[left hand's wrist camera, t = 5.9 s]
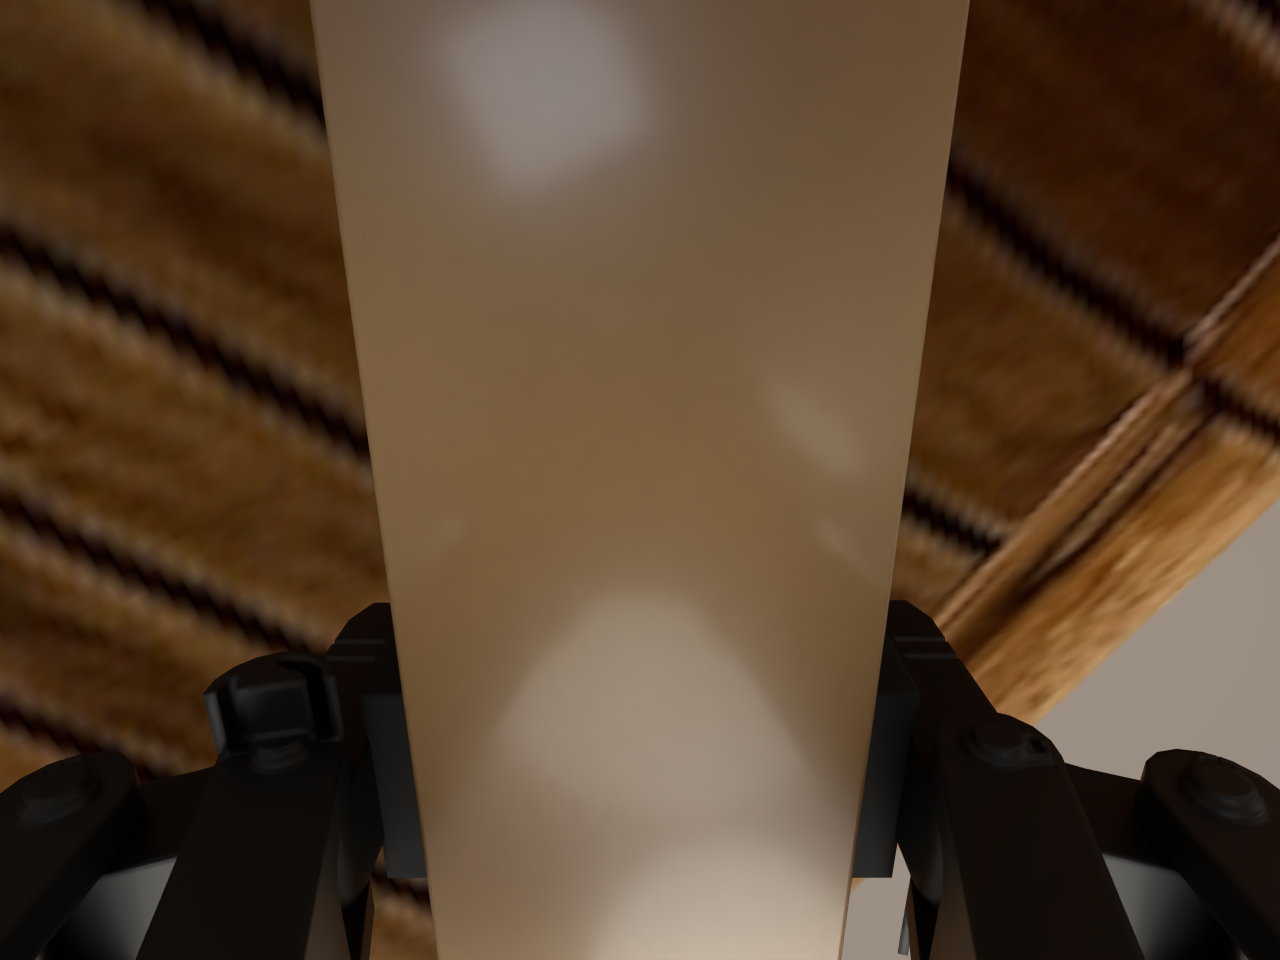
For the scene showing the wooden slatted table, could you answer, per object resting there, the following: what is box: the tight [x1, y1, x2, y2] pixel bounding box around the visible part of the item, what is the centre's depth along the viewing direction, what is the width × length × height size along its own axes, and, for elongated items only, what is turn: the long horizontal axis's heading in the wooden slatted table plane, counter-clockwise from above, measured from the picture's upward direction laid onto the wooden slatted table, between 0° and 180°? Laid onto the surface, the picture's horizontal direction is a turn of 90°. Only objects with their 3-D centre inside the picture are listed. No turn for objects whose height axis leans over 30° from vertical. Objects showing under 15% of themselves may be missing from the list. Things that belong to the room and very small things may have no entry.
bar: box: [309, 0, 970, 960], centre depth 9 cm, size 24×5×8 cm, turn 0°
